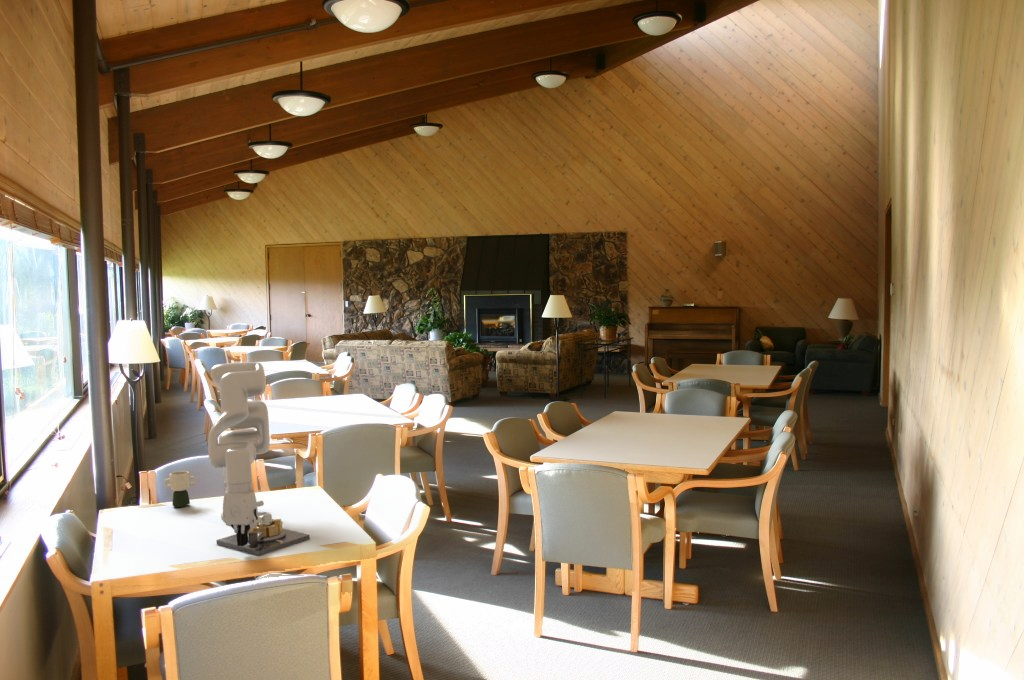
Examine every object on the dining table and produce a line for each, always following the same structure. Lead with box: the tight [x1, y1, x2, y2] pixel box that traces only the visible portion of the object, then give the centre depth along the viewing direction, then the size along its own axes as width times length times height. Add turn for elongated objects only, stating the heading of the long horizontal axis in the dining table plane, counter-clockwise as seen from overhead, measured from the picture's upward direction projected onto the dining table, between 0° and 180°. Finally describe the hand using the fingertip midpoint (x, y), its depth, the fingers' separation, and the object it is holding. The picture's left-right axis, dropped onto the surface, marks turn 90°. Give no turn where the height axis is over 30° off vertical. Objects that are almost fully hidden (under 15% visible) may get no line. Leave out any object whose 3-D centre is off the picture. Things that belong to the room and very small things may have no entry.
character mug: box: [164, 470, 196, 508], centre depth 329 cm, size 11×7×13 cm, turn 106°
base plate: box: [215, 513, 311, 557], centre depth 280 cm, size 20×22×8 cm
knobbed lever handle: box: [248, 518, 284, 548], centre depth 276 cm, size 20×10×4 cm, turn 1°
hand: (242, 544), depth 268 cm, fingers closed
